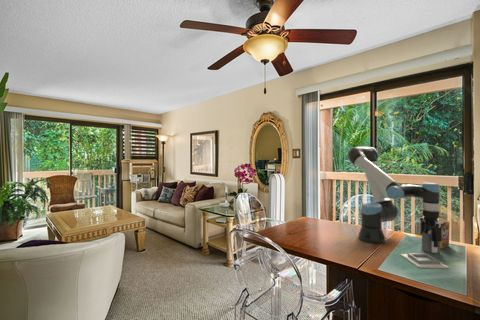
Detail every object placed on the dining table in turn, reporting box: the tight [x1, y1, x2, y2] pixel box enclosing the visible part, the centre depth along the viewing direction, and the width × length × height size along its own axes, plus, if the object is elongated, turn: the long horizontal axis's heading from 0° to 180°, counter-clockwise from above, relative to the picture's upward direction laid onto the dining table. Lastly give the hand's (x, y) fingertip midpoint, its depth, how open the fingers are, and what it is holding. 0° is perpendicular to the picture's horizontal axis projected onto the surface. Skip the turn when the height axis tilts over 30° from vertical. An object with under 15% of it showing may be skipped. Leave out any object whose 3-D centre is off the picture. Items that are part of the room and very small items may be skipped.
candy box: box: [438, 219, 451, 249], centre depth 138 cm, size 9×4×15 cm, turn 115°
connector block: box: [421, 230, 441, 254], centre depth 131 cm, size 5×6×12 cm
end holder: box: [400, 252, 450, 269], centre depth 119 cm, size 14×14×2 cm
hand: (430, 250), depth 131 cm, fingers closed on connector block, 5 cm apart
